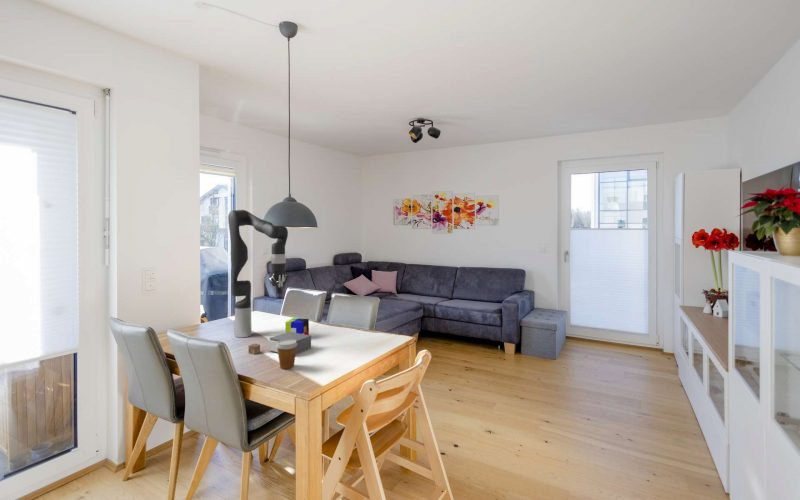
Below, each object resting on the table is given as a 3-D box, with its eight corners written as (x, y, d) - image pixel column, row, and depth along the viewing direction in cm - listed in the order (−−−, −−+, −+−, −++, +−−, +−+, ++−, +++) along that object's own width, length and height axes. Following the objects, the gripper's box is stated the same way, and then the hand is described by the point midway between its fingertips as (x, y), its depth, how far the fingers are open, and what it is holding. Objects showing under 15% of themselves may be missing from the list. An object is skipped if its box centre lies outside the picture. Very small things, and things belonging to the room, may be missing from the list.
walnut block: (248, 353, 207) (248, 345, 207) (254, 350, 210) (254, 343, 210) (253, 354, 205) (253, 346, 205) (260, 352, 209) (259, 344, 208)
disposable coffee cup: (279, 363, 192) (278, 339, 191) (299, 363, 192) (298, 338, 192) (274, 370, 182) (274, 345, 181) (295, 370, 183) (295, 344, 182)
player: (270, 350, 211) (269, 337, 210) (289, 343, 223) (289, 331, 222) (292, 355, 203) (292, 342, 202) (311, 348, 215) (311, 335, 215)
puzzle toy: (301, 339, 231) (301, 322, 231) (285, 338, 233) (285, 322, 233) (308, 335, 241) (308, 318, 240) (293, 334, 243) (293, 318, 242)
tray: (268, 350, 209) (267, 340, 208) (288, 343, 221) (287, 334, 221) (289, 355, 202) (289, 345, 201) (308, 347, 214) (308, 337, 214)
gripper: (274, 263, 209) (274, 296, 210) (292, 261, 220) (292, 292, 222) (264, 263, 212) (264, 295, 214) (282, 261, 224) (282, 291, 225)
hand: (279, 293), depth 218 cm, fingers closed
